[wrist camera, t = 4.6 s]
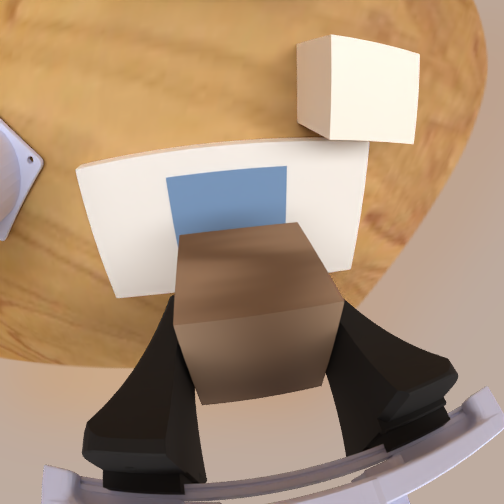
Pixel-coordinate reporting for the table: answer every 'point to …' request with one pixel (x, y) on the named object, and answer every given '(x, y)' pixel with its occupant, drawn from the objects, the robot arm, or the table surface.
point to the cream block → (357, 89)
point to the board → (220, 201)
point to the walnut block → (254, 312)
